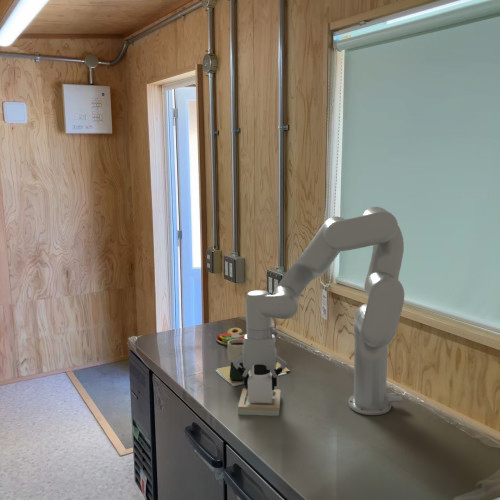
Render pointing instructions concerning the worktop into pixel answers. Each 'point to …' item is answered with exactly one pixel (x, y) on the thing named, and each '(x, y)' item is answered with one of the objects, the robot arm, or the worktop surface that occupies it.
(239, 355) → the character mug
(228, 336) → the toy food set
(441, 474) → the worktop surface
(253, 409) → the beige square tray
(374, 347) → the robot arm
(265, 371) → the medicine bottle
